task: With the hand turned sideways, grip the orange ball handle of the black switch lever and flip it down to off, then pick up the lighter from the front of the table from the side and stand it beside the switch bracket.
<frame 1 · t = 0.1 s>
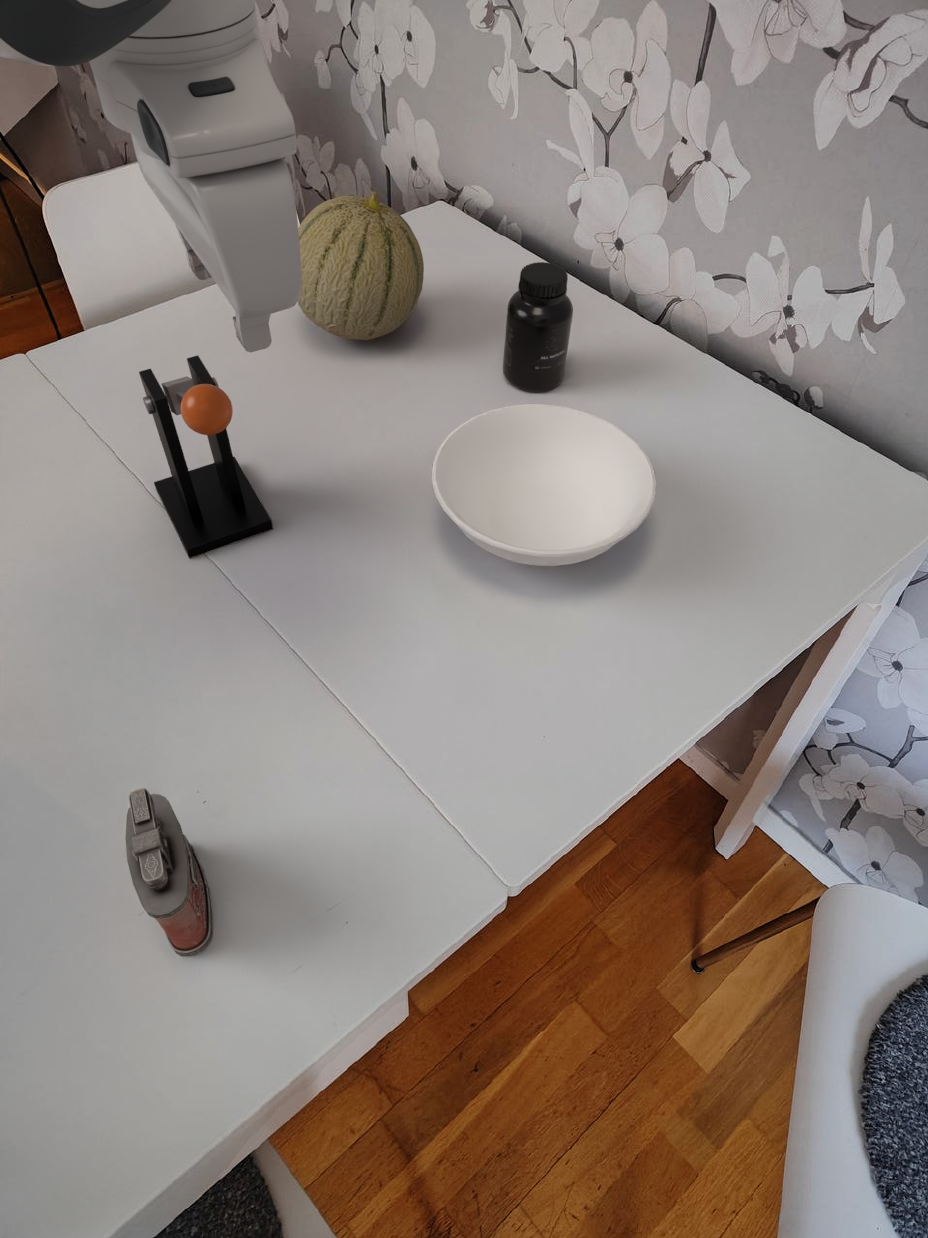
hand: (229, 307, 57), 26 cm above the table, tool pointing down, fingers open, 8 cm apart
supplement bottle: (533, 376, 96), on the table
lighter: (185, 899, 59), on the table
cantaloupe: (362, 330, 101), on the table
bowl: (537, 525, 82), on the table
switch: (193, 402, 67), point 16 cm above the table, hinge at 28.0°
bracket: (214, 509, 82), on the table
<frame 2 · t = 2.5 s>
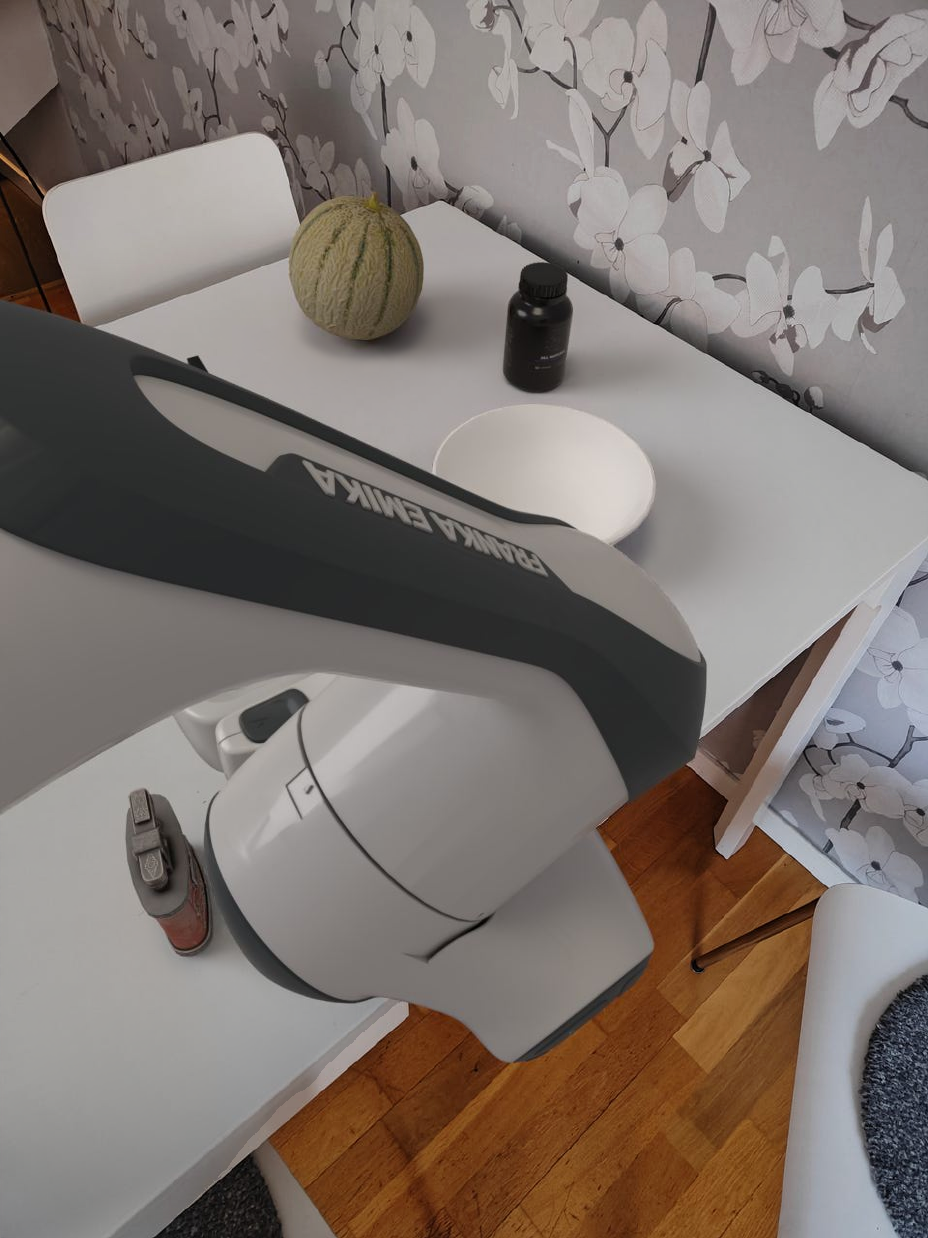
hand: (295, 532, 50), 22 cm above the table, tool horizontal, fingers open, 8 cm apart
nothing on the table moved.
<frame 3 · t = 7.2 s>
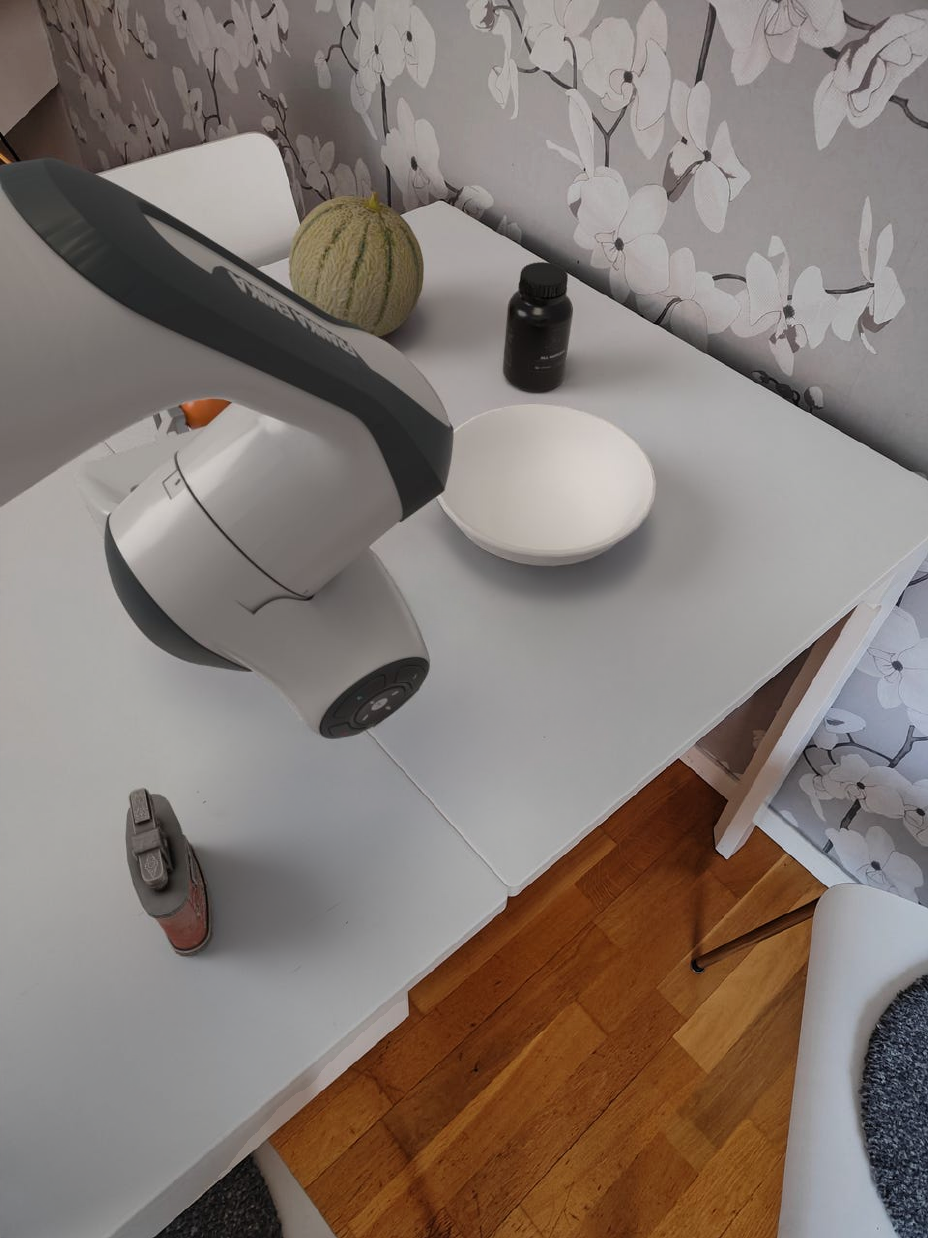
hand: (202, 402, 63), 18 cm above the table, tool horizontal, fingers closed on switch, 3 cm apart
switch: (193, 402, 67), point 16 cm above the table, hinge at 28.0°, touching gripper
everything else where it was.
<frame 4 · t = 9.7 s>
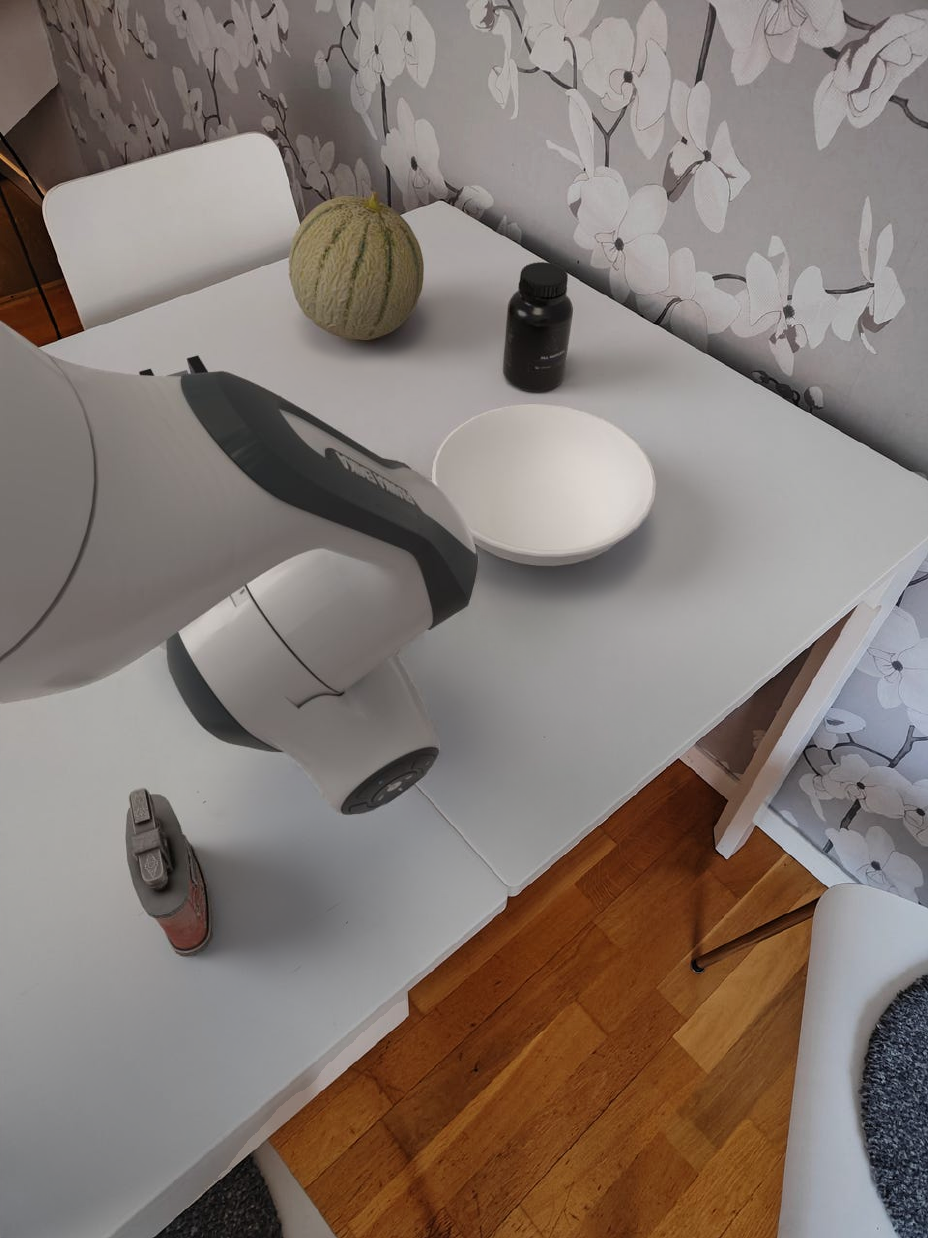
hand: (227, 490, 69), 10 cm above the table, tool horizontal, fingers closed on switch, 3 cm apart
switch: (206, 446, 70), point 12 cm above the table, hinge at -12.6°, touching gripper
everything else where it was.
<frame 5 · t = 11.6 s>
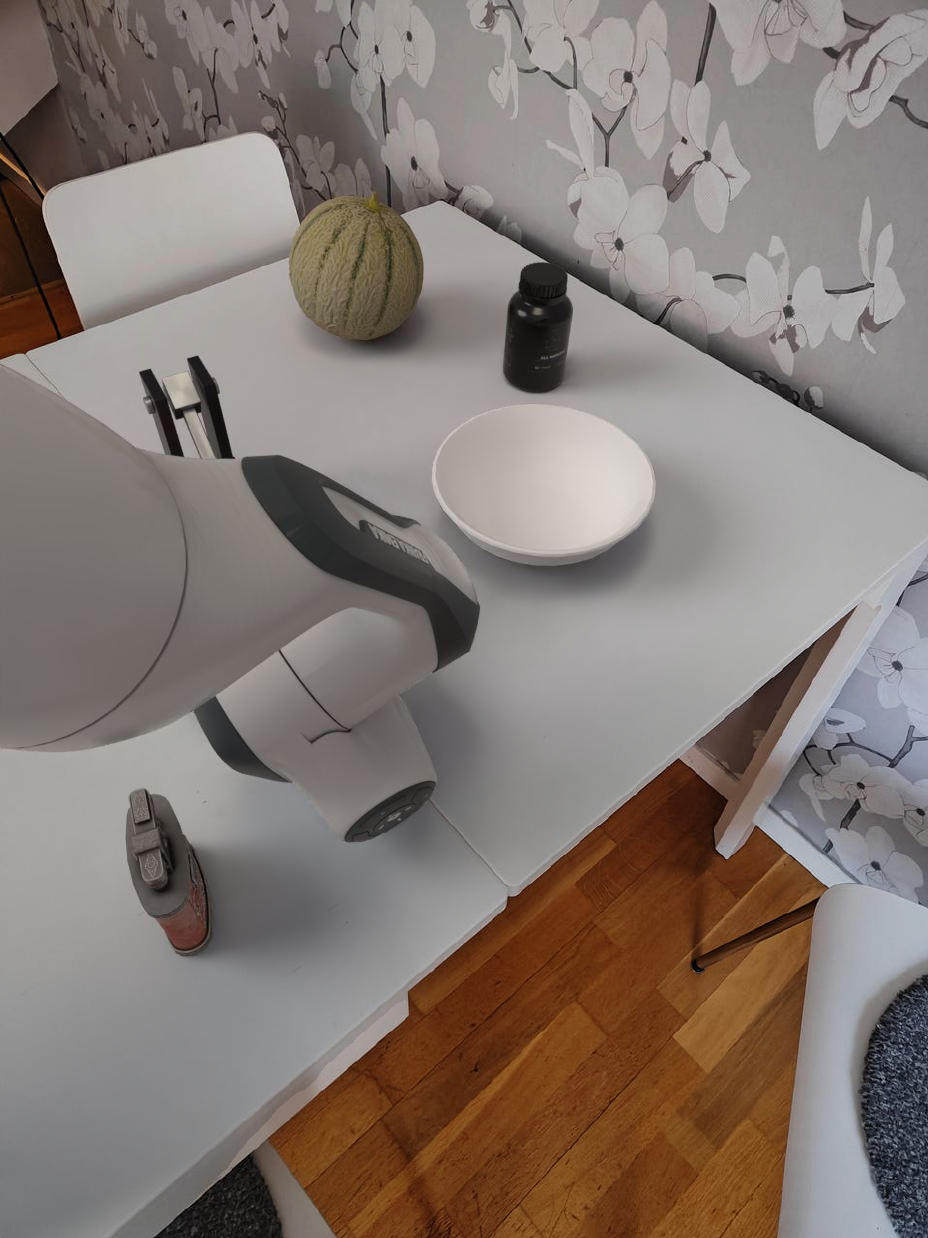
hand: (236, 529, 73), 6 cm above the table, tool horizontal, fingers open, 4 cm apart
switch: (208, 458, 72), point 10 cm above the table, hinge at -33.5°
everything else where it was.
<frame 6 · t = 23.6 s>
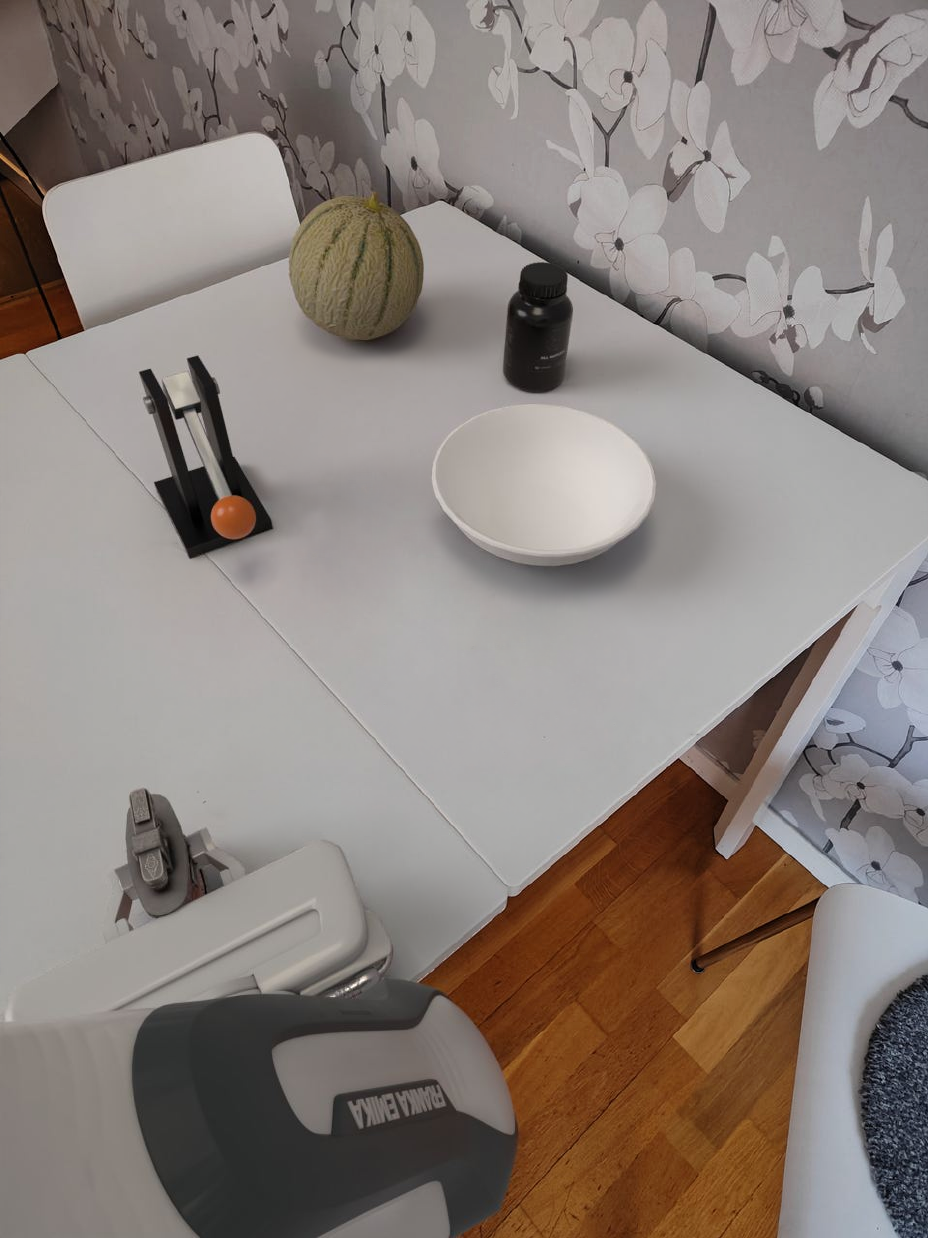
hand: (159, 853, 55), 6 cm above the table, tool horizontal, fingers closed on lighter, 3 cm apart
lighter: (185, 899, 59), on the table, touching gripper
everything else where it was.
when the fingers open (5 cm above the table, at t = 33.0 s): lighter stays where it is, on the table.
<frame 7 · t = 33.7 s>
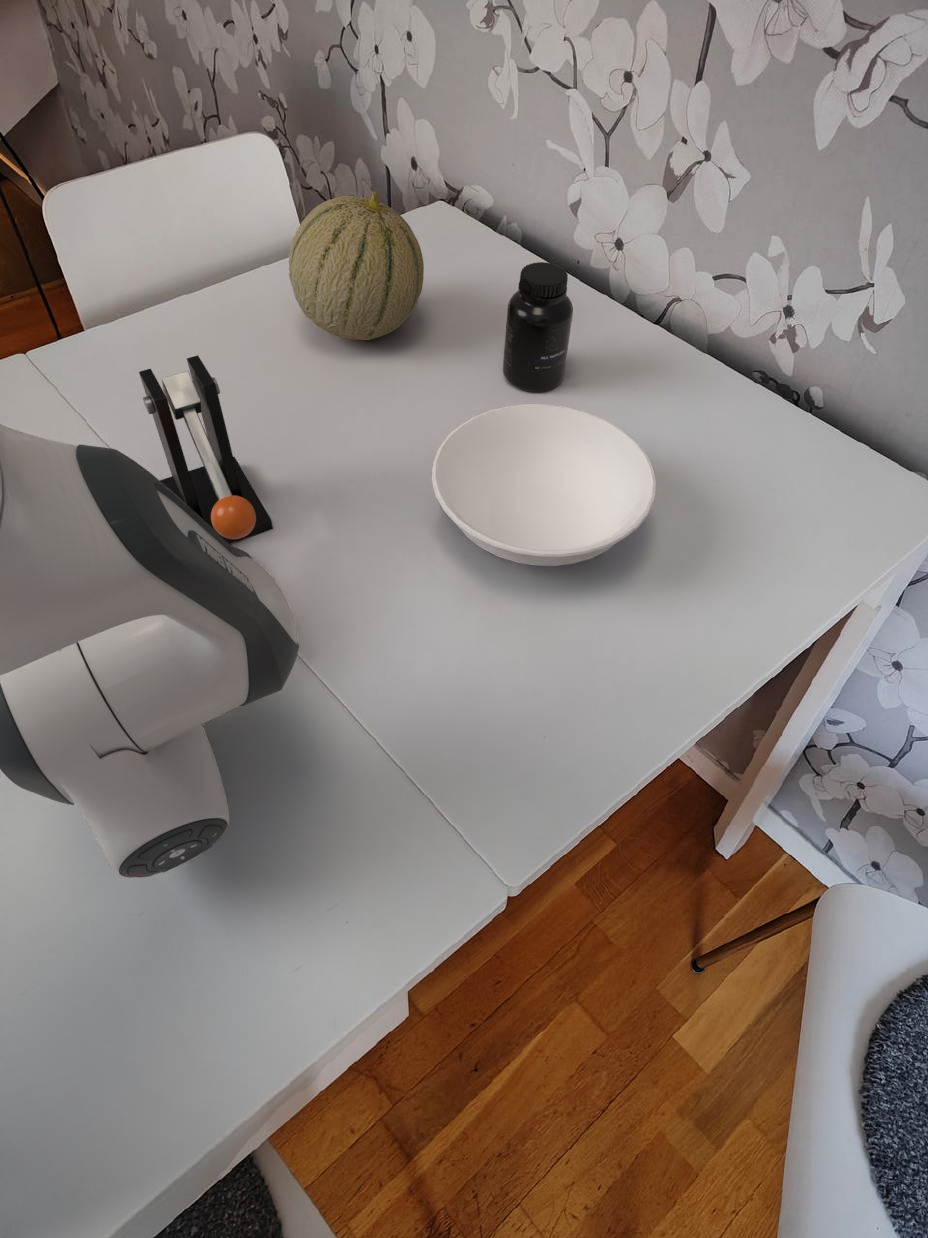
hand: (65, 550, 71), 6 cm above the table, tool horizontal, fingers open, 8 cm apart
lighter: (93, 603, 75), on the table
everything else where it was.
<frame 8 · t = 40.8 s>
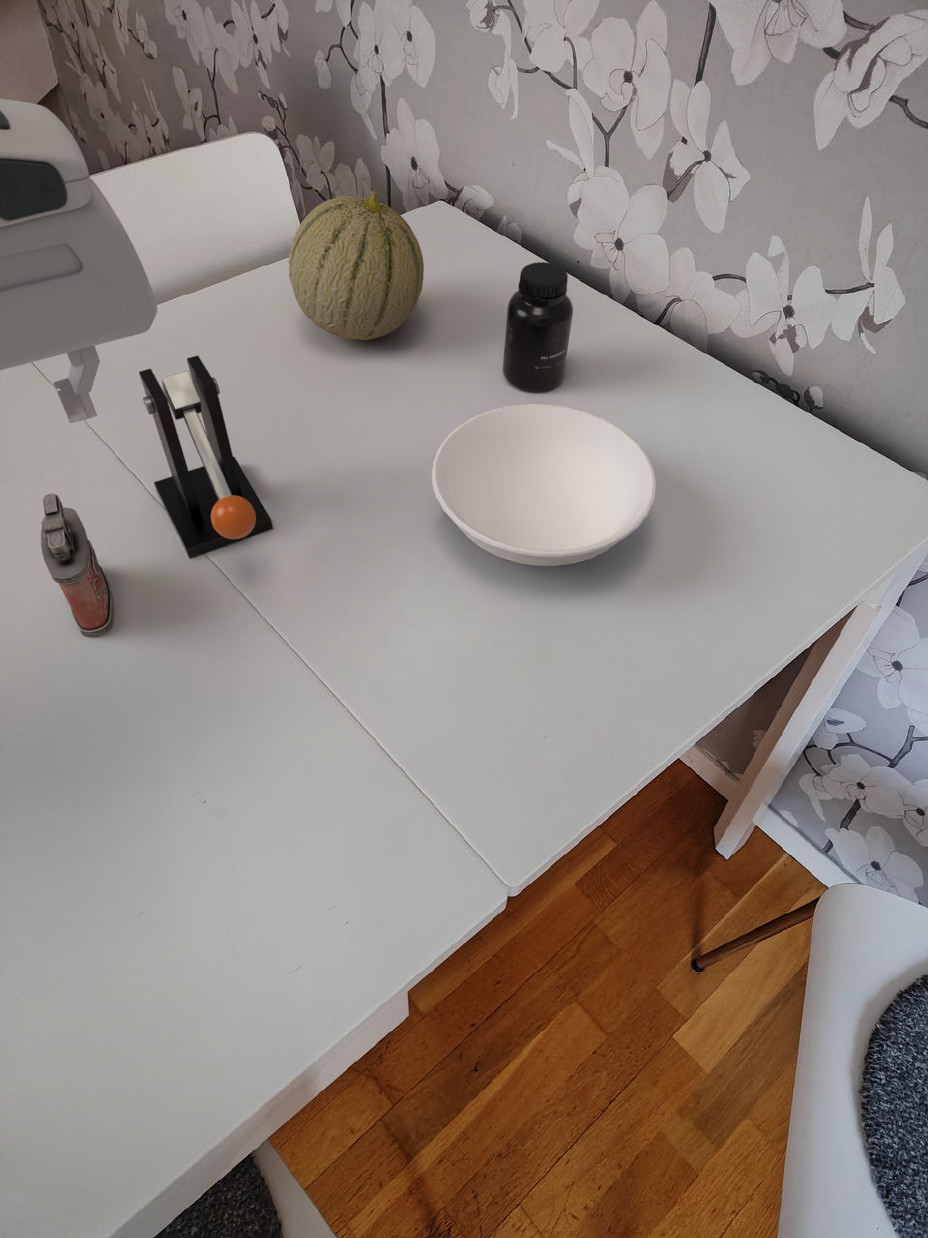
nothing on the table moved.
at the end: switch at -34° (first picture: +28°); lighter 0.2 cm from the target spot on the table beside the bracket, on the table; lighter tilted 0° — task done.
